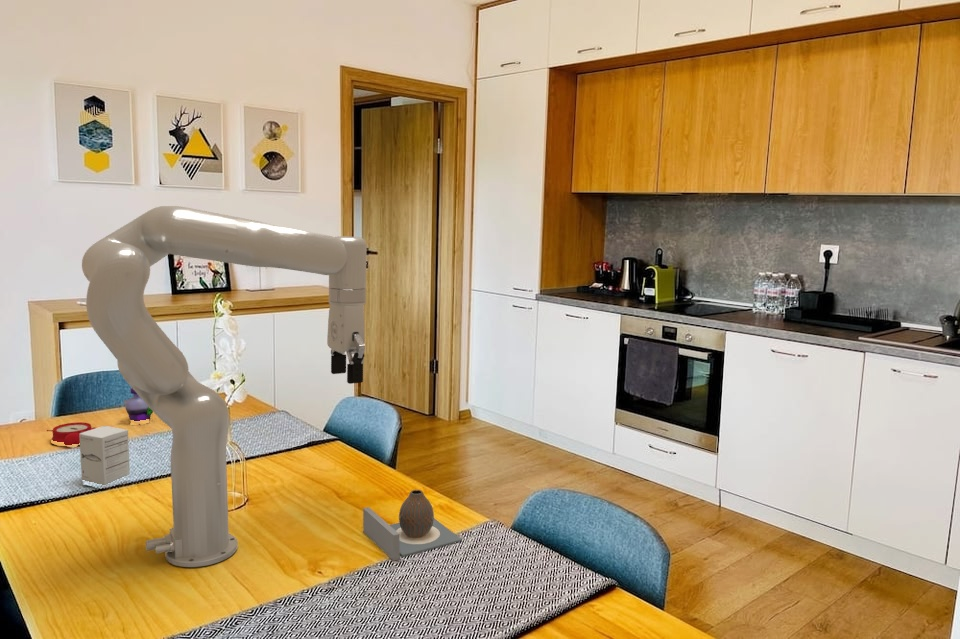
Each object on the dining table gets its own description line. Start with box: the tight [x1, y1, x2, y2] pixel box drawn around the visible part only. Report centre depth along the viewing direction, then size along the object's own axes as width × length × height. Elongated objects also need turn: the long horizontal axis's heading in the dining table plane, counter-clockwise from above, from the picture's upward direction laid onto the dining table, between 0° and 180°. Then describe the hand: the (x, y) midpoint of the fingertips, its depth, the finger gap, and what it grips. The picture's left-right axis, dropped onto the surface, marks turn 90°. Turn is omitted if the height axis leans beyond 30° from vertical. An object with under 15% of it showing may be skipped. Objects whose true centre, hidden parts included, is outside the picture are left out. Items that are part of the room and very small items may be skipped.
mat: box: [389, 517, 463, 558], centre depth 140 cm, size 13×13×1 cm
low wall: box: [362, 506, 400, 562], centre depth 136 cm, size 1×14×5 cm, turn 33°
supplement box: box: [79, 425, 131, 485], centre depth 163 cm, size 7×7×13 cm
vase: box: [398, 489, 435, 538], centre depth 140 cm, size 7×7×9 cm
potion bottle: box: [123, 387, 154, 421], centre depth 210 cm, size 9×9×12 cm
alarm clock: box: [46, 421, 96, 445], centre depth 192 cm, size 10×6×15 cm
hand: (346, 377), depth 147 cm, fingers open, 9 cm apart
